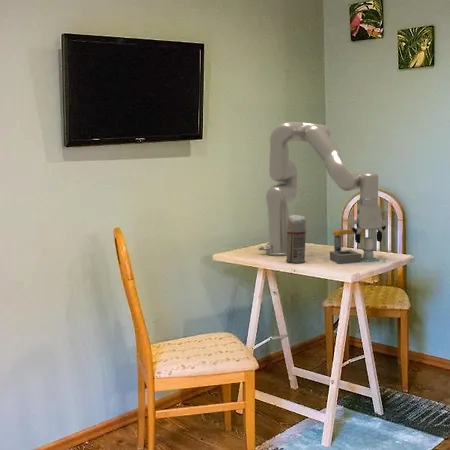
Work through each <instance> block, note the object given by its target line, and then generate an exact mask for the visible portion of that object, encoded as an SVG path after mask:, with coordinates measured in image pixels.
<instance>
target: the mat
mask: <svg viewBox="0 0 450 450" xmlns="http://www.w3.org/2000/svg"><path fill="white" fill-rule="evenodd" d="M380 261H381V259H379V258H377V257H375V256H373V259H371V260H366V259H364V256H363V257H362V256H361V262H363V263H372V262H380Z"/></svg>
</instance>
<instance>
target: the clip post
mask: <svg viewBox="0 0 450 450" xmlns="http://www.w3.org/2000/svg"><path fill="white" fill-rule="evenodd" d="M333 237H334V239H333V241H334V242H333V243H334V244H333V247H334V248H333V251H342V235H340V236H335V235H333Z"/></svg>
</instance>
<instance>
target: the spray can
mask: <svg viewBox="0 0 450 450" xmlns="http://www.w3.org/2000/svg"><path fill="white" fill-rule="evenodd" d="M306 227H307V226H306V217H305V216H304V215H299V214H292V215H289V217H288V223H287V243H286V244H287V245H286V246H287V248H286V255H285V256H286V260H285V261H286V262H287V263H289V264H290V263H294V264H300V263H301V264H302V263H305V262H306V261H305V259H306V241H307V239H306V234H307V231H306Z"/></svg>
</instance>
